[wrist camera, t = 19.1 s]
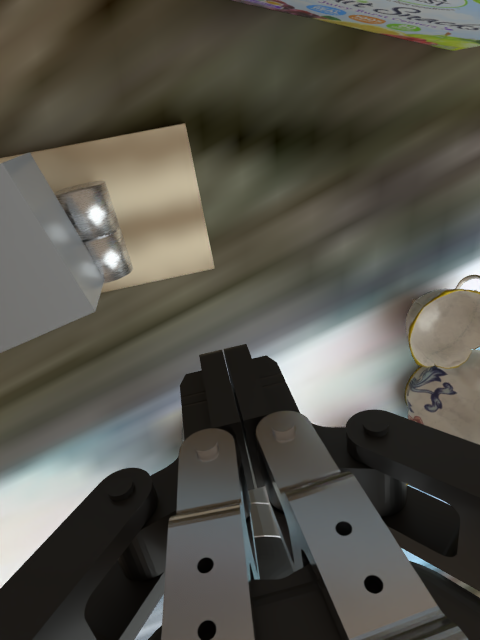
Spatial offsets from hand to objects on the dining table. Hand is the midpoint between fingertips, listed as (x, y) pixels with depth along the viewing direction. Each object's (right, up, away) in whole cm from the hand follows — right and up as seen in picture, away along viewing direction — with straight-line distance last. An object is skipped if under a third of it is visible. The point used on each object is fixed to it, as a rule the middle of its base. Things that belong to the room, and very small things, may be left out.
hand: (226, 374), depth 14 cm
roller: (-10, +8, +19) cm, 23 cm away
